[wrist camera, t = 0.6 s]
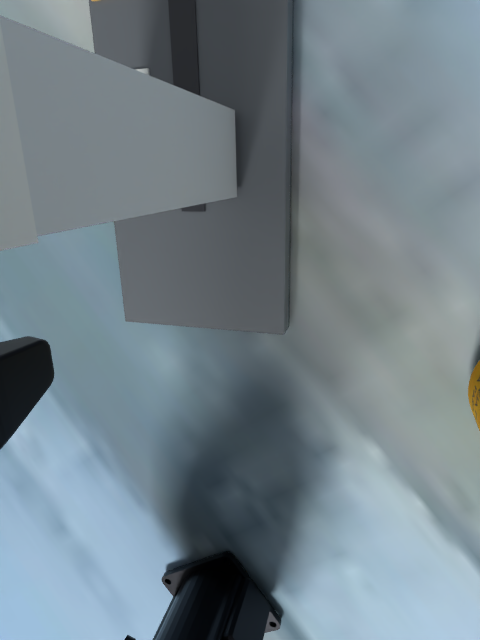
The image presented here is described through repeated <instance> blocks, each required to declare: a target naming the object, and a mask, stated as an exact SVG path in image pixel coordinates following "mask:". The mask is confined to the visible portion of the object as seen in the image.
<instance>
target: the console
mask: <svg viewBox="0 0 480 640" xmlns="http://www.w3.org/2000/svg"><path fill="white" fill-rule="evenodd" d="M89 6H90V15H91V23H92V32H93V41H94V50H95V54H97V55H100V56H102V57H105V58H107V59H110V60H112V61H115V62H117V63H120V64H122V65H125V66H127V67H130V68H132V69H135V70H137V71H139V72H142V73H144V74H147V75H149V76H152V77H154V78H157V79H159V80H162V81H164V82H167V83H169V84H172V85H174V86H177V87H179V88H182V89H184V90H186V91H189V92H191V93H194V94H196V95H199V96H201V97H204V98H206V99H209V100H211V101H214V102H216V103H219V104H221V105H224V106H226V107H228V108H231V109H233V110H235V134H236V175H237V197H234V198H229V199H224V200H219V201H214V202H209V203H204V204H199V205H194V206H189V207H184V208H179V209H174V210H168V211H163V212H158V213H153V214H148V215H143V216H138V217H133V218H128V219H123V220H118V221H114V225H115V233H116V242H117V251H118V260H119V268H120V277H121V286H122V295H123V303H124V312H125V321H127V322H139V323H151V324H163V325H175V326H187V327H199V328H211V329H223V330H235V331H247V332H259V333H270V334H282V335H284V334H285V332H286V330H287V329H288V327H289V264H290V192H291V120H292V48H293V0H89Z"/></svg>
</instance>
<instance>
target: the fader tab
mask: <svg viewBox="0 0 480 640" xmlns="http://www.w3.org/2000/svg"><path fill="white" fill-rule="evenodd" d="M234 197H237V175H236V134H235V110H233V109H231V108H228V107H226V106H224V105H221V104H219V103H216V102H214V101H211V100H209V99H206V98H204V97H201V96H199V95H196V94H194V93H191V92H189V91H186V90H184V89H182V88H179V87H177V86H174V85H172V84H169V83H167V82H164V81H162V80H159V79H157V78H154V77H152V76H149V75H147V74H144V73H142V72H139V71H137V70H135V69H132V68H130V67H127V66H125V65H122V64H120V63H117V62H115V61H112V60H110V59H107V58H105V57H102V56H100V55H97V54H95V53H93V52H90V51H88V50H85V49H83V48H80V47H78V46H75V45H73V44H70V43H68V42H65V41H63V40H60V39H58V38H55V37H53V36H50V35H48V34H46V33H43V32H41V31H38V30H36V29H33V28H31V27H28V26H26V25H23V24H21V23H18V22H16V21H13V20H11V19H8V18H6V17H4V16H1V15H0V251H2V250H7V249H11V248H16V247H20V246H25V245H30V244H34V243H38V238H37V236H42V235H47V234H52V233H57V232H62V231H67V230H72V229H77V228H82V227H87V226H92V225H97V224H102V223H108V222H113V221H118V220H123V219H128V218H133V217H138V216H143V215H148V214H153V213H158V212H163V211H168V210H174V209H179V208H184V207H189V206H194V205H199V204H204V203H209V202H214V201H219V200H224V199H229V198H234Z"/></svg>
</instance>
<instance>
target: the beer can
mask: <svg viewBox="0 0 480 640" xmlns="http://www.w3.org/2000/svg"><path fill="white" fill-rule="evenodd" d="M468 397H469V403H470V407H471V410H472V412H473V415H474V417H475V420H476V423H477V425H478V428H479V431H480V360H479V361H478V363H477V364H476V366H475V368H474V370H473V372H472V374H471V377H470V380H469V386H468Z"/></svg>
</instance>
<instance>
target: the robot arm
mask: <svg viewBox="0 0 480 640" xmlns="http://www.w3.org/2000/svg"><path fill="white" fill-rule="evenodd" d="M53 379H54V368H53V362H52V355H51V349H50V345H49V344H48V342H47V341H45V340H43V339H39V338H35V337H30V336H27V337H22V338H18V339H13V340H9V341H4V342H0V449H1V448H2V447H3V446H4V445H5V444H6V443H7V441H8V440H9V439H10V438H11V436H12V435H13V434H14V433H15V431H16V430H17V429H18V427H19V426H20V425H21V423H22V422H23V421H24V419H25V418H26V417H27V416H28V414H29V413H30V412H31V410H32V409H33V408H34V406H35V405H36V404H37V402H38V401H39V400H40V398H41V397H42V396H43V395H44V393H45V392H46V391H47V389H48V388H49V387H50V385H51V384H52V382H53ZM162 582H163V584H164V585H165V586H166V588H167V589H168V590H169V591H170V593H171V594H172V595H173V599H172V601H171V603H170V605H169V607H168V609H167V611H166V613H165V615H164V617H163V619H162V621H161V624H160V626H159V628H158V630H157V632H156V634H155V636H154V638H153V640H263V636H264V633H266V632H271V631H275V630H278V629H279V628H280V625H281V618H280V617H279V615H278V614H277V613H276V611H275V610H274V609H273V607H272V606H271V605H270V603H269V602H268V601H267V599H266V598H265V597H264V595H263V594H262V593H261V591H260V590H259V589H258V587H257V586H256V585H255V583H254V582H253V581H252V579H251V578H250V577H249V575H248V574H247V573H246V571H245V570H244V569H243V567H242V566H241V565H240V563H239V562H238V560H237V559H236V558H235V556H234V555H233V554H232V553H230V552H222V553H220V554H217V555H214V556H211V557H208V558H205V559H202V560H199V561H196V562H193V563H190V564H188V565H185V566H182V567H179V568H176V569H173V570H170V571H167V572H165V574H164V576H163V577H162ZM125 640H136V639H135V638H133V637H131V636H129V635H127V637H126V638H125Z"/></svg>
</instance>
